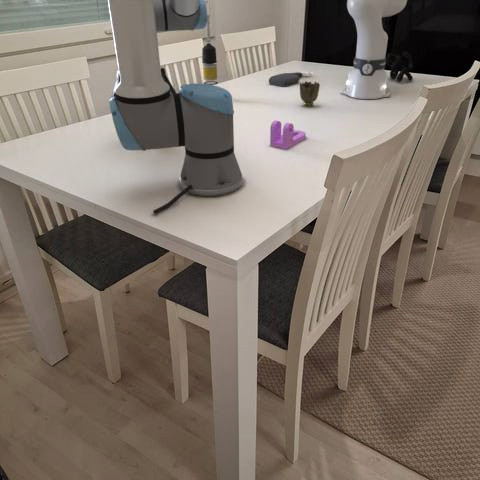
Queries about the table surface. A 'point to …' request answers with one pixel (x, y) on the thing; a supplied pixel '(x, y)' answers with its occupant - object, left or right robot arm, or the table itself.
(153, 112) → the left robot arm
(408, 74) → the squiggle
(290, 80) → the spray bottle
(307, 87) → the cup
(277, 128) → the bracket
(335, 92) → the table surface
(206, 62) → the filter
